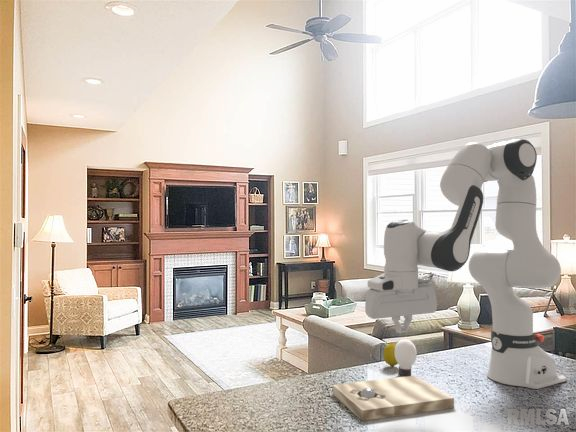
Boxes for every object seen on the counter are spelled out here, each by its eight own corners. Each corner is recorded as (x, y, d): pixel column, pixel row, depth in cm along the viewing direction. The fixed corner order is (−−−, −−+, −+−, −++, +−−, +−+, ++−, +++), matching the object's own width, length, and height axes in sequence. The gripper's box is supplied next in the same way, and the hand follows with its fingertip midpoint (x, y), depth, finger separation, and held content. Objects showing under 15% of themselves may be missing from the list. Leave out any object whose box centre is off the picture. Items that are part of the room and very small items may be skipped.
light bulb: (389, 373, 146) (389, 338, 146) (406, 370, 149) (406, 335, 149) (404, 379, 140) (404, 343, 140) (421, 376, 143) (421, 340, 143)
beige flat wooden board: (414, 384, 137) (414, 375, 137) (454, 407, 119) (454, 397, 119) (332, 394, 129) (332, 385, 129) (362, 420, 111) (362, 410, 111)
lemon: (401, 370, 149) (401, 345, 149) (383, 369, 150) (383, 344, 150) (400, 364, 155) (400, 340, 155) (383, 363, 156) (383, 339, 156)
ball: (372, 396, 125) (368, 383, 124) (380, 402, 121) (375, 388, 120) (360, 403, 123) (355, 389, 123) (366, 409, 120) (362, 395, 119)
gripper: (427, 276, 131) (428, 325, 131) (362, 281, 125) (363, 332, 125) (441, 279, 125) (442, 330, 125) (373, 285, 119) (374, 338, 119)
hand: (402, 331), depth 125 cm, fingers closed
